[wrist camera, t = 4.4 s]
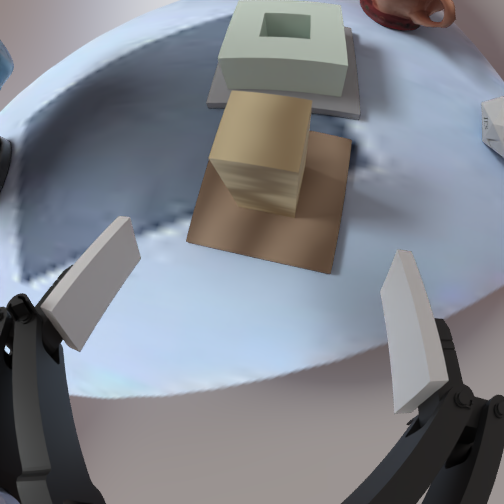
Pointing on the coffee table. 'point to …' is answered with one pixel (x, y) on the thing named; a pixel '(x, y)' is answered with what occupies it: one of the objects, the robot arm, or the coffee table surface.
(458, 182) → the coffee table surface
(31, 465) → the robot arm
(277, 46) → the square socket base
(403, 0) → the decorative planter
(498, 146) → the die
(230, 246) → the wooden t-shaped block
